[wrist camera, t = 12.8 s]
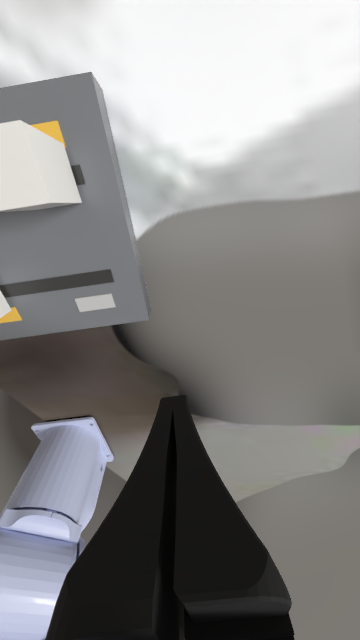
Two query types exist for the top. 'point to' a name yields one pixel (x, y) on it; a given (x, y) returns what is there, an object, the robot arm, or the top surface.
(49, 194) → the outer tab
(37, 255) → the switch panel
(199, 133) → the top surface
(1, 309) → the inner tab
